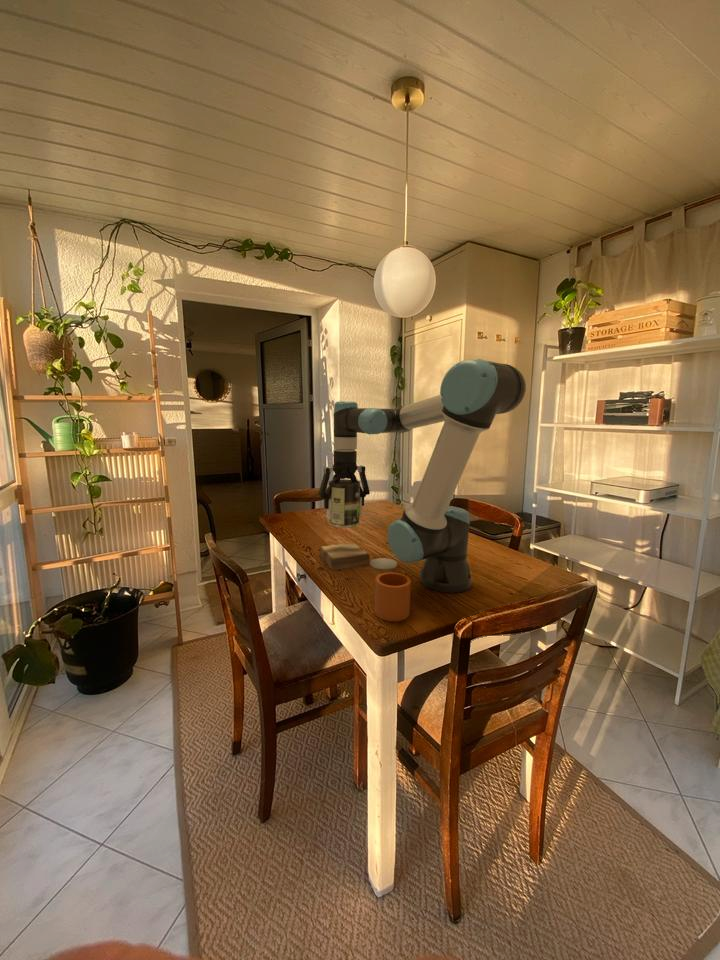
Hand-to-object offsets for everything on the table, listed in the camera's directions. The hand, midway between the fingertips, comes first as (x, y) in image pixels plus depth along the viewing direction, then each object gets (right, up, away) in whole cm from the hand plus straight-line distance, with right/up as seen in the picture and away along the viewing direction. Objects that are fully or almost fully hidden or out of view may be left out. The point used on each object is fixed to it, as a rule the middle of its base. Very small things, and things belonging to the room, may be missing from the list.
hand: (344, 516), depth 132 cm
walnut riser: (0, -15, +3) cm, 15 cm away
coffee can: (0, -2, 0) cm, 3 cm away
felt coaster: (+13, -16, 0) cm, 21 cm away
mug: (+13, -21, -30) cm, 39 cm away
